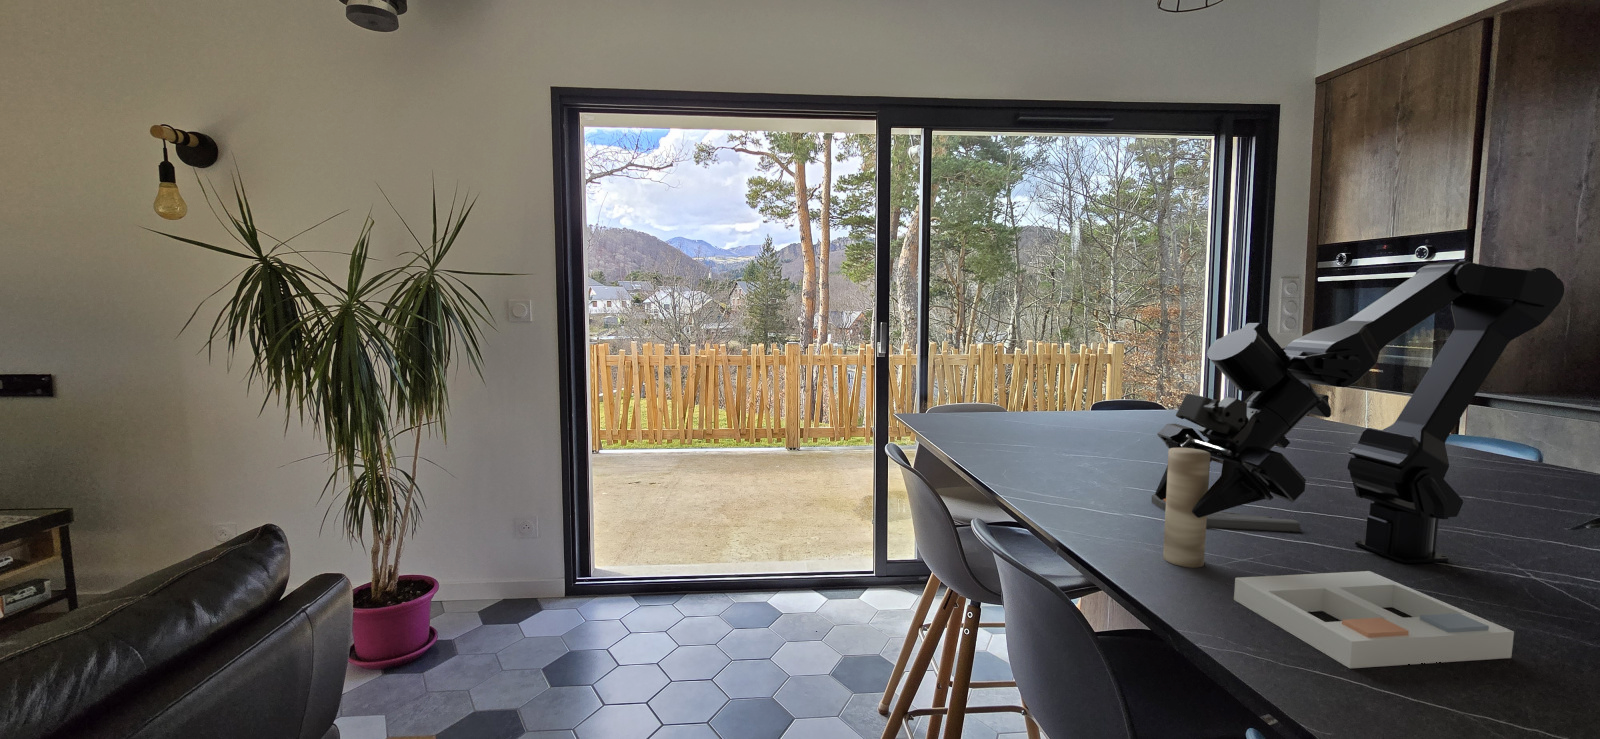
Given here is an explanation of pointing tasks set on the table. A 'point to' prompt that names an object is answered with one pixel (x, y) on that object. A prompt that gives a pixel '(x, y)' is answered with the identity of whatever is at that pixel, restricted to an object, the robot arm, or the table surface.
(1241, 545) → the table surface
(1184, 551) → the plug
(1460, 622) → the socket board
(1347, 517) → the table surface
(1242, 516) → the orange-tipped hinged bar
